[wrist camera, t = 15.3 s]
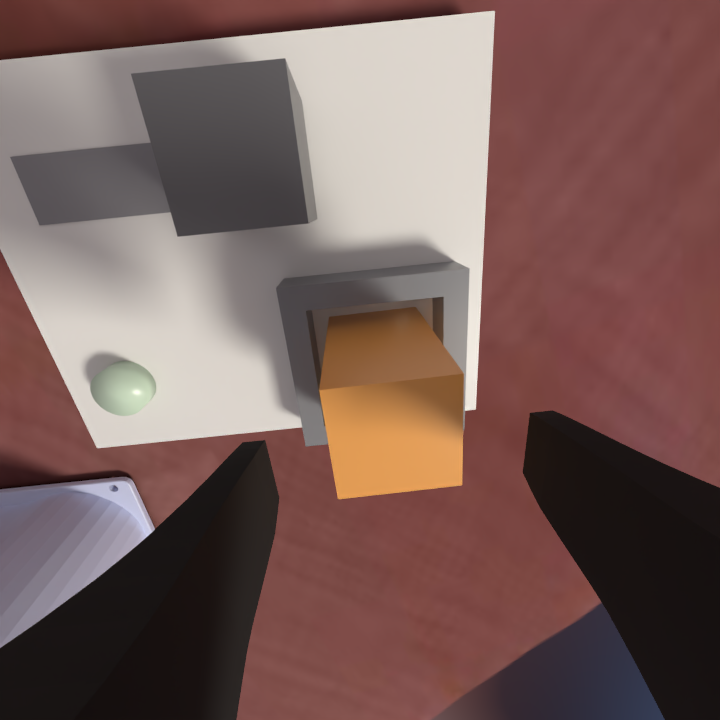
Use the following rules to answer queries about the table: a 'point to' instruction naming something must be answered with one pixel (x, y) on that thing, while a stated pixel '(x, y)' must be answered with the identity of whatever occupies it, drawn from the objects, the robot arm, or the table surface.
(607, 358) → the table surface
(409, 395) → the orange rectangular block
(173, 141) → the block
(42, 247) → the panel
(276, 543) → the table surface
